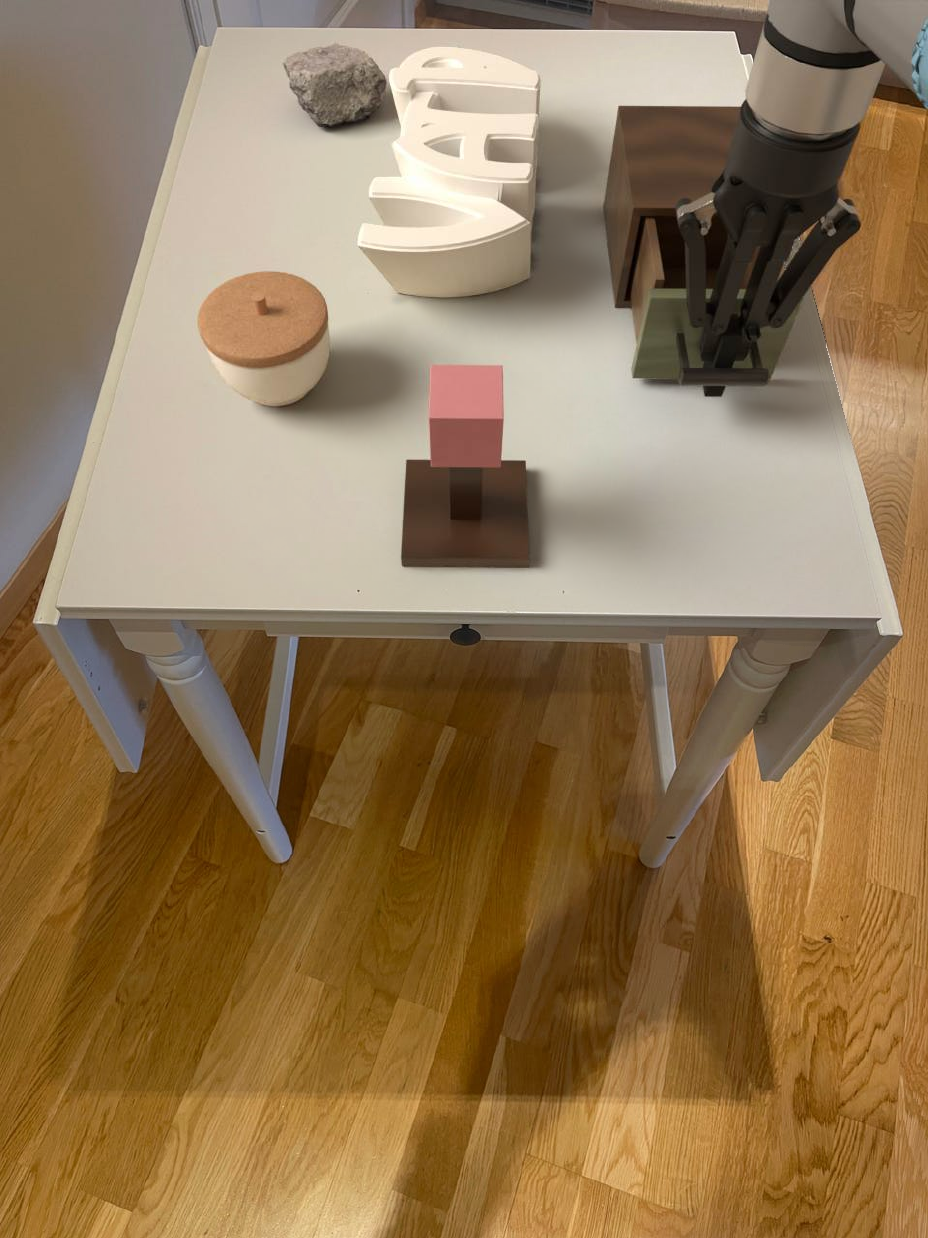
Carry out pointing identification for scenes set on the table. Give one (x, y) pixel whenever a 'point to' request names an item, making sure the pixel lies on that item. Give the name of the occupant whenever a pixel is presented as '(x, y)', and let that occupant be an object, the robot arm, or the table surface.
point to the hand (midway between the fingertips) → (711, 385)
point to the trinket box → (267, 336)
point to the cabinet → (659, 172)
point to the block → (466, 415)
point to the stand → (465, 515)
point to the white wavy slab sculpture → (458, 176)
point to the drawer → (665, 317)
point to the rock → (336, 83)
